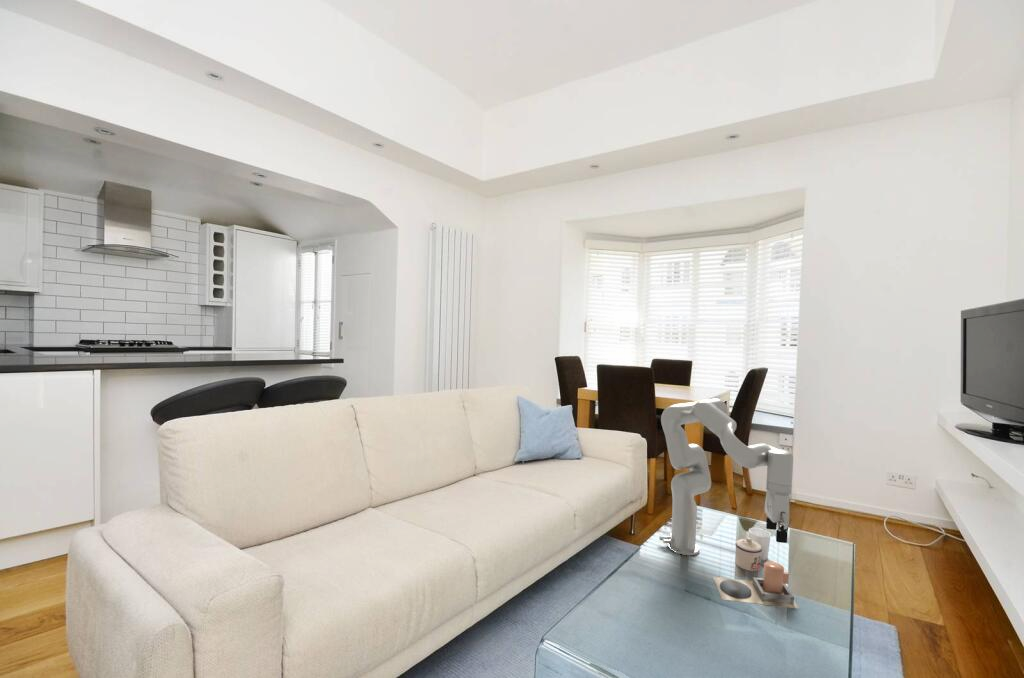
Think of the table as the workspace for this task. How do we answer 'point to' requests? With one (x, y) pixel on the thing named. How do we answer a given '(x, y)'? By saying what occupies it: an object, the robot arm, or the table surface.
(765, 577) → the peach rounded peg
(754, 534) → the white cup
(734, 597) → the board
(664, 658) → the table surface
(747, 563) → the teacup with lid
